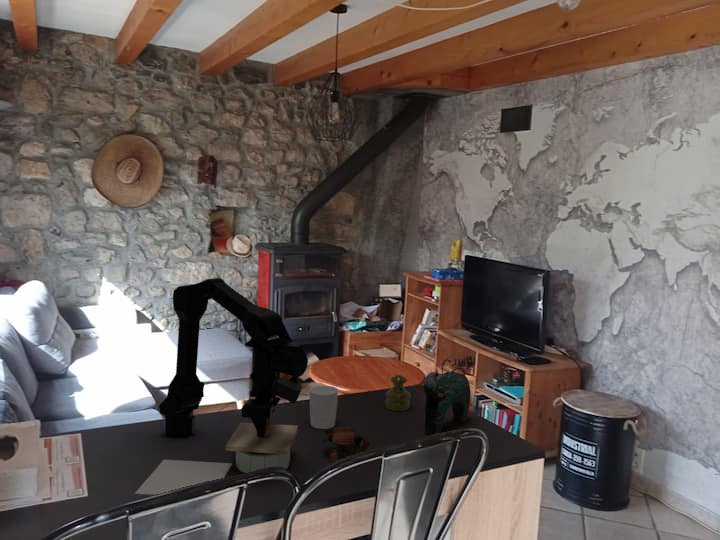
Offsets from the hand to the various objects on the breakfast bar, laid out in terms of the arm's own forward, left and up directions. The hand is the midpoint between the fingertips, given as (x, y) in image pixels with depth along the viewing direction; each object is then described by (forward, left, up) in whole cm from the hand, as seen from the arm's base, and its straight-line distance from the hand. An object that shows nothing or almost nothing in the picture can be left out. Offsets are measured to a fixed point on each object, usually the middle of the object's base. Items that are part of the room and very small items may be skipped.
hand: (263, 433), depth 137 cm
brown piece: (+19, +8, -8) cm, 22 cm away
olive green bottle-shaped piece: (+32, +44, -8) cm, 55 cm away
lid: (0, 0, -2) cm, 2 cm away
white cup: (+11, +27, -8) cm, 30 cm away
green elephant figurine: (+45, +30, -8) cm, 55 cm away
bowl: (0, 0, -8) cm, 8 cm away
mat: (-15, -9, -8) cm, 19 cm away
